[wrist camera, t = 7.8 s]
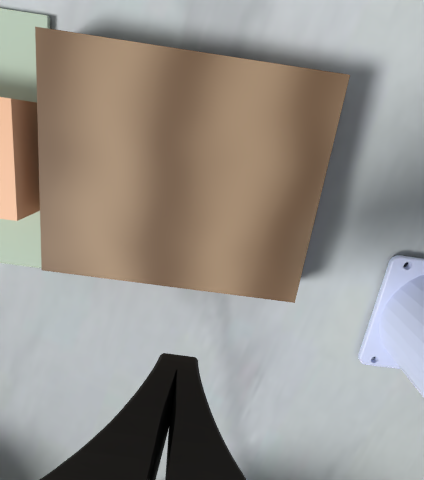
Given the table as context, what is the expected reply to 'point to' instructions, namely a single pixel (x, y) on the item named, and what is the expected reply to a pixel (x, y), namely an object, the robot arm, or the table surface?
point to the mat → (23, 88)
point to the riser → (180, 164)
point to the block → (18, 159)
